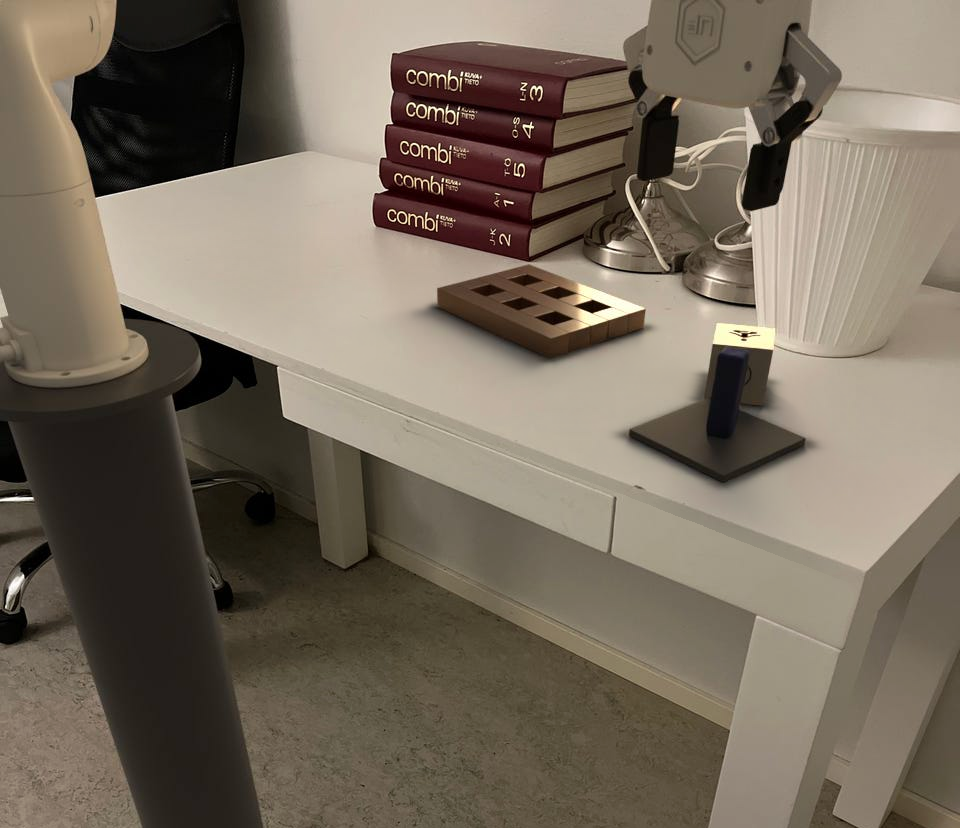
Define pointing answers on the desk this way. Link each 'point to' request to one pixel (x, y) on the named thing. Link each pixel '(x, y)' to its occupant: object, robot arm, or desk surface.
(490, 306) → the holder
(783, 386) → the desk surface
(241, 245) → the desk surface
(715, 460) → the coaster
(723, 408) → the eraser
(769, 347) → the dice cube
